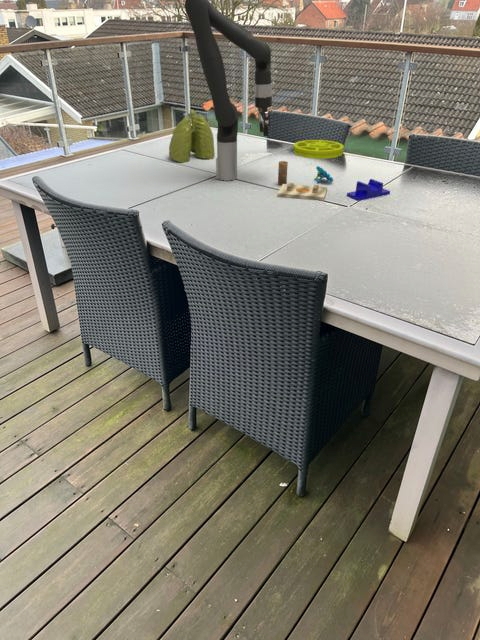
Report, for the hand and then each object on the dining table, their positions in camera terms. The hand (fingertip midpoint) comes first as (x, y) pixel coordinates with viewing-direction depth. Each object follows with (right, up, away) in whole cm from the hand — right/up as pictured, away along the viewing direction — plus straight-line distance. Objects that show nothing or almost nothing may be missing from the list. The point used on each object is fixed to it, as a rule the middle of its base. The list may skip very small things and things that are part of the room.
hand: (264, 134), depth 222 cm
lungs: (-37, +3, +43) cm, 57 cm away
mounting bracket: (+45, -31, -10) cm, 55 cm away
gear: (+28, -20, +7) cm, 35 cm away
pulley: (+33, +10, +55) cm, 65 cm away
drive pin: (+9, -22, +3) cm, 24 cm away
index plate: (+16, -29, -8) cm, 35 cm away
